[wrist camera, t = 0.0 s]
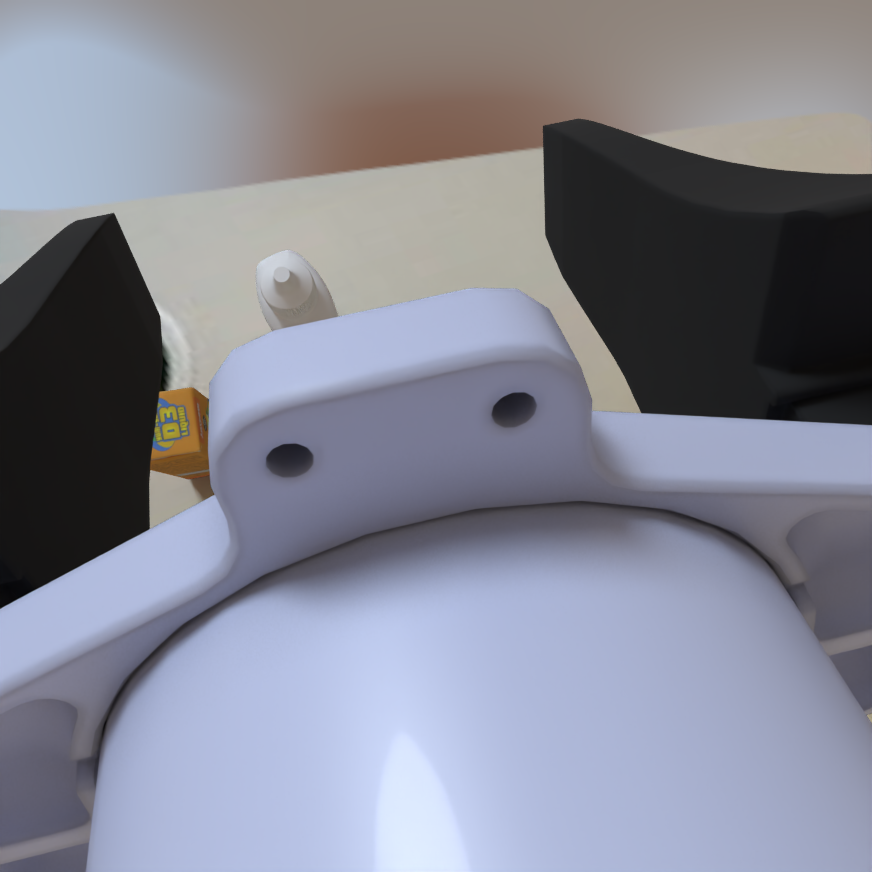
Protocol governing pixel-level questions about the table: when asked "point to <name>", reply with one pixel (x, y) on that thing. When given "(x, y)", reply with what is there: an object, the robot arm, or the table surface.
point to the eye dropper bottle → (292, 291)
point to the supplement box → (181, 434)
